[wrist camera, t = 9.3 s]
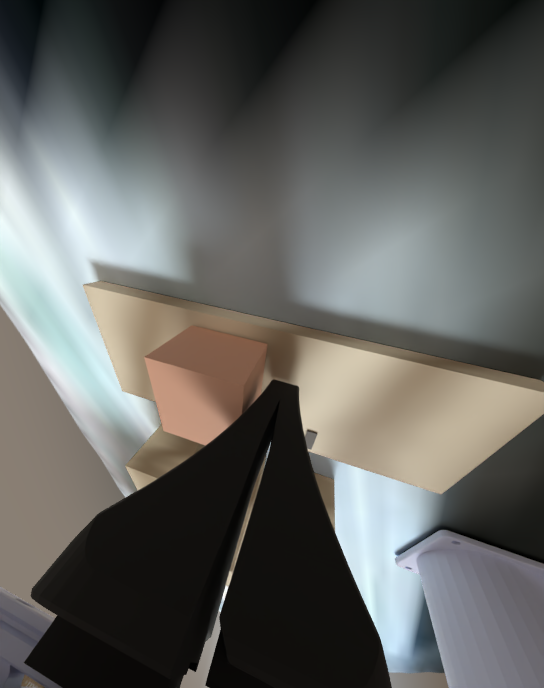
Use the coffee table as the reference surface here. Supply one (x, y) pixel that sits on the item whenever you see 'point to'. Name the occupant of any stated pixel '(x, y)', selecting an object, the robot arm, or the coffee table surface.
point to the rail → (342, 387)
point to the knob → (205, 381)
